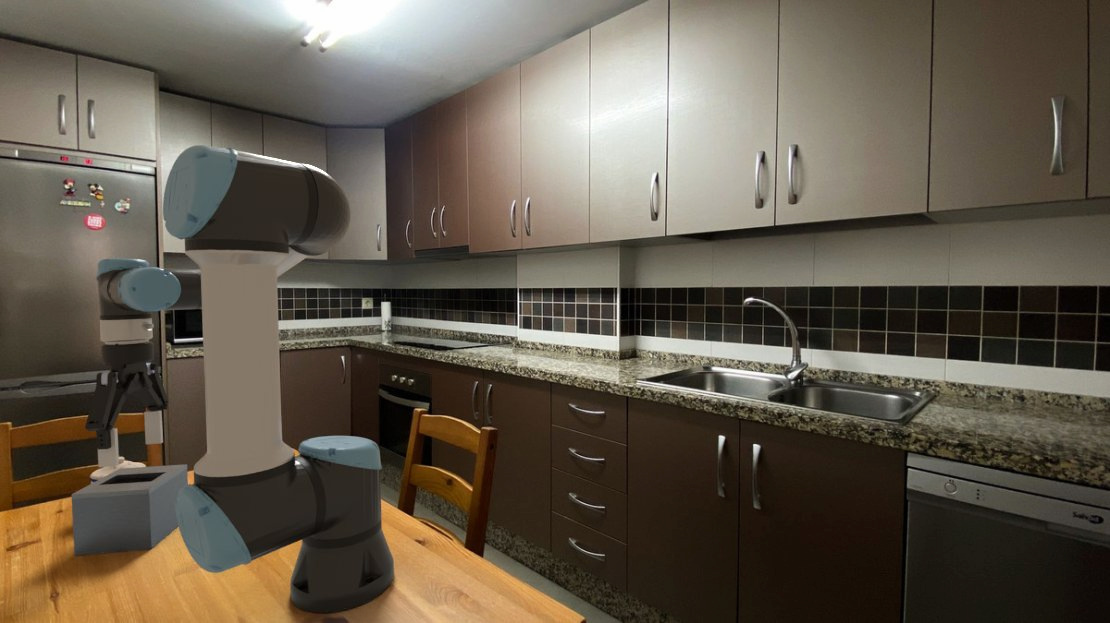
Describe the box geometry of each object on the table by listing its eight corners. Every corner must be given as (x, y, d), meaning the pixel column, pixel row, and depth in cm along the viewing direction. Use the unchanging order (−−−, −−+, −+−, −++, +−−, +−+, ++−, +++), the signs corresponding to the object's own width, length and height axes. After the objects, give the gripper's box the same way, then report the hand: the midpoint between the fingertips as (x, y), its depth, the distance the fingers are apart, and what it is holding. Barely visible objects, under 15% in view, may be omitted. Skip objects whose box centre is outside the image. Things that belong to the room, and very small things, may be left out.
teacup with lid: (157, 507, 109) (155, 454, 108) (106, 526, 100) (103, 468, 100) (125, 498, 114) (123, 447, 113) (73, 515, 105) (71, 460, 105)
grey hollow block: (151, 549, 91) (149, 489, 91) (74, 555, 89) (71, 494, 89) (189, 517, 104) (187, 464, 104) (122, 522, 102) (120, 468, 101)
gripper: (105, 348, 83) (111, 475, 84) (185, 335, 108) (189, 434, 109) (51, 350, 82) (59, 479, 83) (145, 336, 106) (150, 436, 107)
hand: (133, 454), depth 96 cm, fingers open, 13 cm apart
